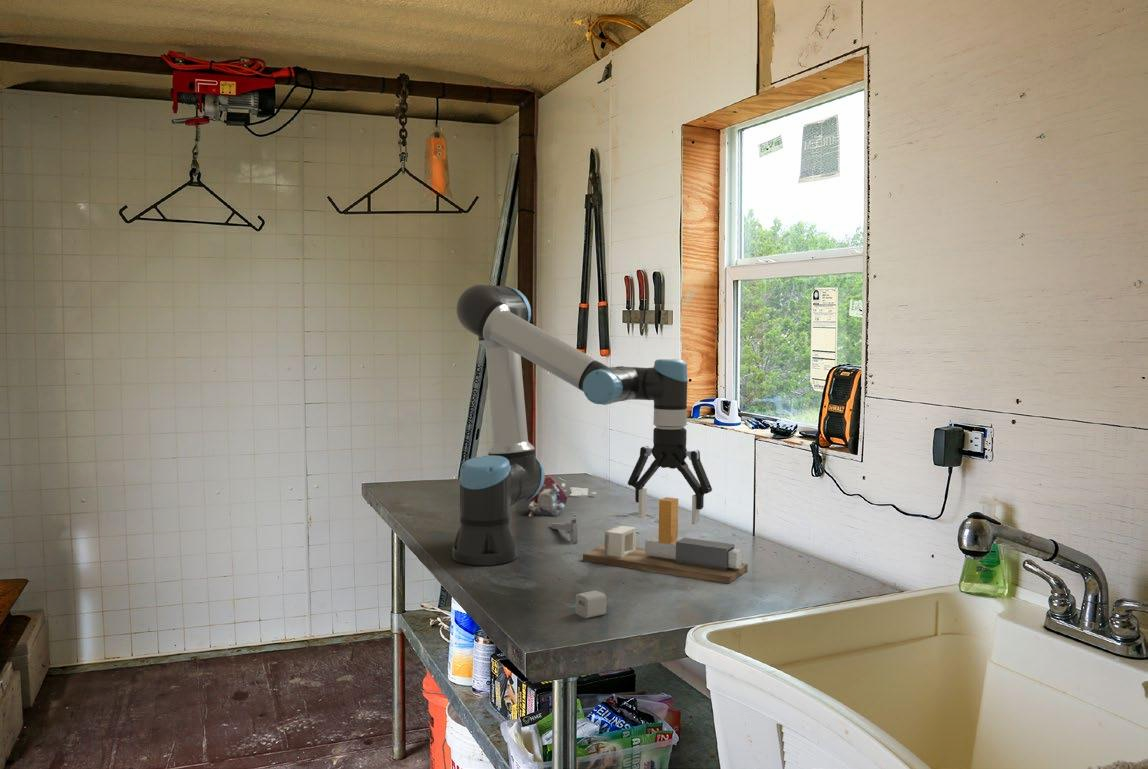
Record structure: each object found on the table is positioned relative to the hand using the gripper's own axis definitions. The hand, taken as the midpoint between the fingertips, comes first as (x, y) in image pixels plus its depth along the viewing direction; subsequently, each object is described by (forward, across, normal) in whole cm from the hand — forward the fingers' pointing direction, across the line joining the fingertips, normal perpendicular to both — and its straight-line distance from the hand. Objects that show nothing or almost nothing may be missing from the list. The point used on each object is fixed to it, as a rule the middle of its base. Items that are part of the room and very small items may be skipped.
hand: (668, 520), depth 205 cm
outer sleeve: (+9, -9, 0) cm, 13 cm away
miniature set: (+11, +71, -60) cm, 93 cm away
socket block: (+9, +12, 0) cm, 15 cm away
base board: (+11, +1, 0) cm, 11 cm away
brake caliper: (+11, +53, -34) cm, 64 cm away
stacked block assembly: (+8, -6, 0) cm, 10 cm away
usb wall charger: (+11, -2, +38) cm, 40 cm away
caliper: (+11, +36, -14) cm, 40 cm away
